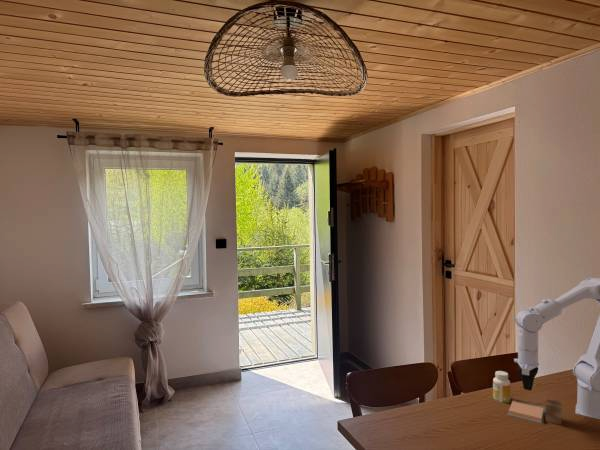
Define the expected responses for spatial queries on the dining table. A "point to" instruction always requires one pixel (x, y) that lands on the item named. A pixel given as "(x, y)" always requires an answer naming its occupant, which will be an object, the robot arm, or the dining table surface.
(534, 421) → the mat
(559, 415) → the block
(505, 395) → the supplement bottle
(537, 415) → the tile
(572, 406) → the dining table surface
